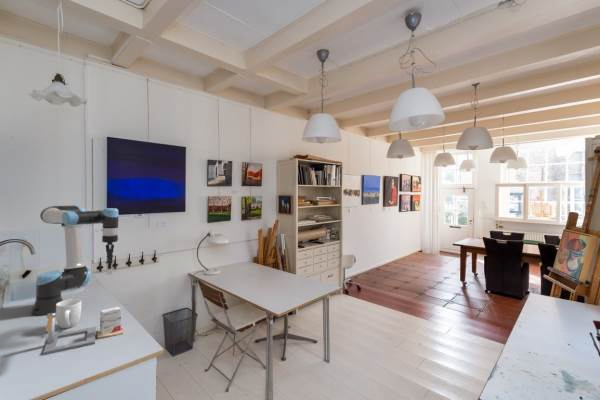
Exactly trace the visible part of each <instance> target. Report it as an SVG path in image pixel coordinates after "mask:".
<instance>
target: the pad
mask: <svg viewBox="0 0 600 400" xmlns="http://www.w3.org/2000/svg"><path fill="white" fill-rule="evenodd" d="M120 334H121V335H123V334H124V330H123V324H122V323H121V330H118V331H115V332H111V333H108V334H104V335H102V334H101V333H100V327H99V328H97V340H101V339H105V338H110V337H115V336H120Z"/></svg>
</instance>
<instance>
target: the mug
mask: <svg viewBox="0 0 600 400" xmlns="http://www.w3.org/2000/svg"><path fill="white" fill-rule="evenodd" d="M81 314H82V299H79V298H70V299H65V300H63V301H61V302H59V303H57V304H56V316H55V320H56V323H57V324H58V326H59V327H60V328H61V329H70V328H73V327H74V326H76V325H77V324H78V322H79V320H80V318H81Z"/></svg>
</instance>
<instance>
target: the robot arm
mask: <svg viewBox="0 0 600 400" xmlns="http://www.w3.org/2000/svg"><path fill="white" fill-rule="evenodd" d="M39 217H40V220H41V221H42V222H43V223H46V224H49V225H61V226H60V227H61V228H63V229H64V239H65V240H64V241H65V242H64V243H65V245H64V246H65V261H66V265H65V267H63V271H62V270H60V269H59V270H58V269H57V270H49V271H46V272H43V273H41V274H39V275H38V276H37V277H36V281H35V288H36V290H35V301H34V303H33V306H32V307H31V315H33V316H47V314H49V313H53V312H55V313H56V304H57V303H59V302H61V301H64V300H63V297H62V292H63V291H68V290H73V289H75V288H81V287H84V286H87V285H88V283H90V280H91V275H92V274H91V270H90V268H89V267H87V265H86V264H85V263H84V258H83V257H84V256H83V254H84V253H83V241H82V227H83V226H85V225H93V224H94V225H95V224H102V229H101V230H100V231H101V232H102V236H101V241H102V242H103V243H107V244H106V245H105V251H106V261H105V262H104V263H105V265H106V266H105V269H106V274H105V275H107V276H108V275H113V265H114V264H113V262H114V261H113V257H114V254H113V253H114V248H115V245H114V244H113V243H117V242H118V240H119V236H118V234H119V209H118V208H115V207H113V208H112V207H111V208H109V207H106V208H103V209H99V210H87V209H86V208H84V206H81V205H75V204H74V205H53V206H48V207H45V208H44V209H43V210H42V211H40V214H39Z"/></svg>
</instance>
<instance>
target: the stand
mask: <svg viewBox="0 0 600 400" xmlns="http://www.w3.org/2000/svg"><path fill="white" fill-rule="evenodd" d="M48 319H49V318H47V320H48ZM55 321H56V316H55V317H53V320H52V325H51V329H50V331H47V342H46V344H45V348H44V350H43V352H42V353H43V354H42V355H43V356H44V355H49V354H54V353H58V352H62V351H63V352H64V351H68V350H72V349H78V348H83V347H87V346H91V345H95V343H96V330H97V329H96V328H97V327H96V326H93V327H92V326H91V327H87V328H81V329H76V330H70V331H66V332H60V333H55ZM82 334H86V340H83V341H77V342H73V343H68V344H63V345H58V346H57V342H58V339H62V338H66V337H72V336H76V335H77V336H78V335H82Z"/></svg>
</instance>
